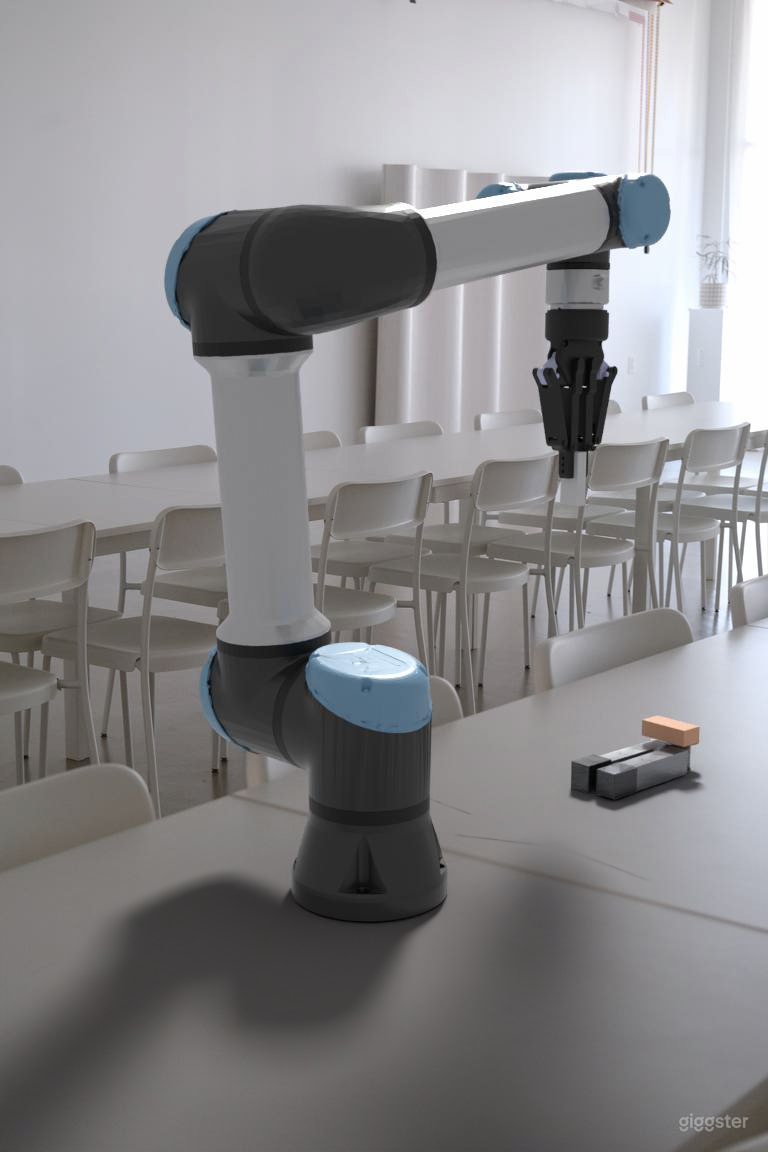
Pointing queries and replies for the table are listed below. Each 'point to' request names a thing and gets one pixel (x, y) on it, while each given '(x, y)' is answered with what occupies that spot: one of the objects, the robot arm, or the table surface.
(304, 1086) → the table surface
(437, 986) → the table surface
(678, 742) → the tab
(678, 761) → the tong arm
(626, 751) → the tong fixed
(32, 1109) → the table surface
